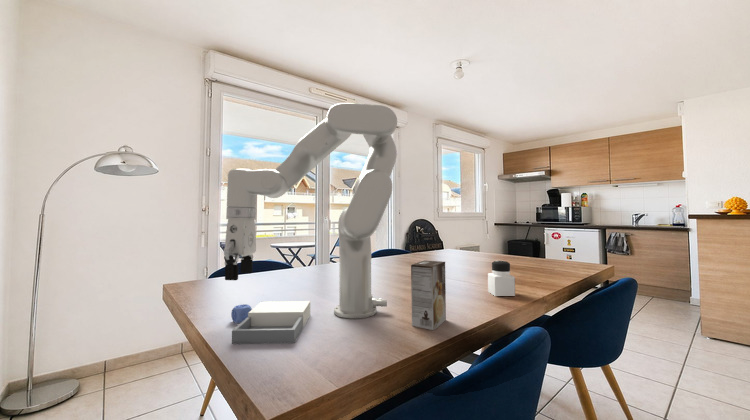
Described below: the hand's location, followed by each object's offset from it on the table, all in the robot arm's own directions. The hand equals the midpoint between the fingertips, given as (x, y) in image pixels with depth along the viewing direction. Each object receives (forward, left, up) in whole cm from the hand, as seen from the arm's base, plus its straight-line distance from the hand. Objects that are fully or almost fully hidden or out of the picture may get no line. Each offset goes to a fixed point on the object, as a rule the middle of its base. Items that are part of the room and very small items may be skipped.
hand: (239, 276), depth 84 cm
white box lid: (-12, +1, -12) cm, 17 cm away
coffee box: (-52, +4, -12) cm, 53 cm away
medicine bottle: (-84, -24, -12) cm, 88 cm away
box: (-12, +11, -12) cm, 20 cm away
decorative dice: (-1, 0, -13) cm, 12 cm away
